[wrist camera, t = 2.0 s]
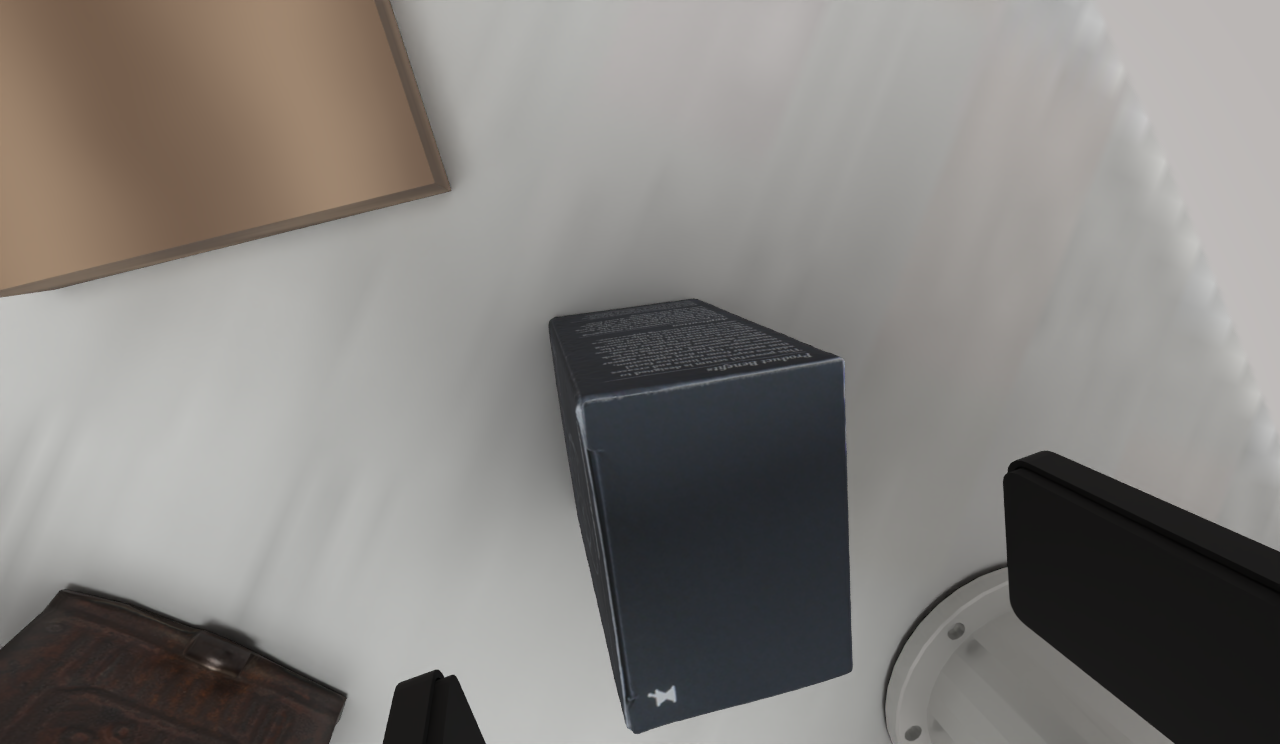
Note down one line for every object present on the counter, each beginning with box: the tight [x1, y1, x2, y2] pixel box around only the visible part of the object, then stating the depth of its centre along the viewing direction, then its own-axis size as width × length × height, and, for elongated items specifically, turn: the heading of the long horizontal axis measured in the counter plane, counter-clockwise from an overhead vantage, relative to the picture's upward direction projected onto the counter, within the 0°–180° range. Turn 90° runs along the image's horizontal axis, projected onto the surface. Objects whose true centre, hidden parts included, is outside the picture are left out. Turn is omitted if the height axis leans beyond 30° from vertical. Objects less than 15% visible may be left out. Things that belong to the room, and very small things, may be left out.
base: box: [0, 0, 451, 297], centre depth 15 cm, size 12×12×4 cm
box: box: [549, 299, 853, 734], centre depth 17 cm, size 8×6×11 cm
